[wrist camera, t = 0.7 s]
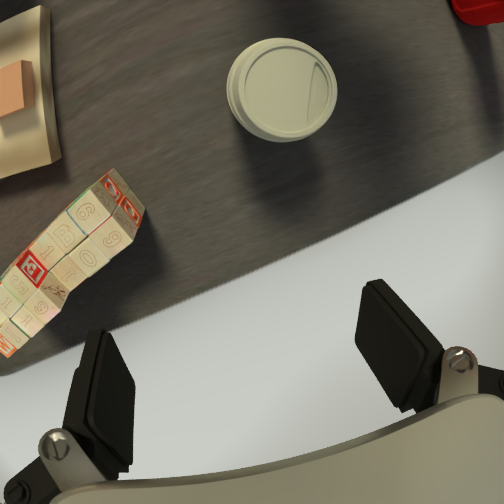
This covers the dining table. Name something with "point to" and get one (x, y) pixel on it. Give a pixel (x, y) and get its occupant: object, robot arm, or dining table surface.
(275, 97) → the coffee cup
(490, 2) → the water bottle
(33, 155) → the board
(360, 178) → the dining table surface
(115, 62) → the dining table surface
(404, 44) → the dining table surface
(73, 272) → the stack of blocks
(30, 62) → the tile
